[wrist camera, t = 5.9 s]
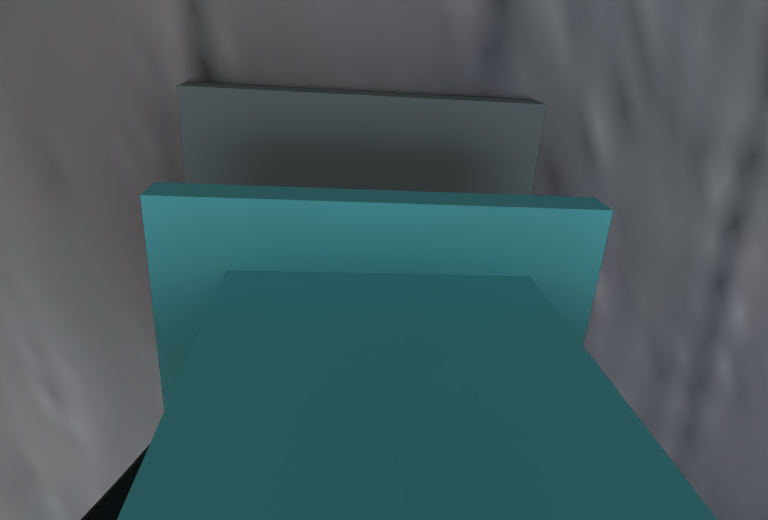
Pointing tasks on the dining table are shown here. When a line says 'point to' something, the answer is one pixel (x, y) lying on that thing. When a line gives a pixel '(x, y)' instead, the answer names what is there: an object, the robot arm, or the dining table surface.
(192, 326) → the flange
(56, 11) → the dining table surface
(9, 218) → the dining table surface
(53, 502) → the dining table surface
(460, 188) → the post block
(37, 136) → the dining table surface
